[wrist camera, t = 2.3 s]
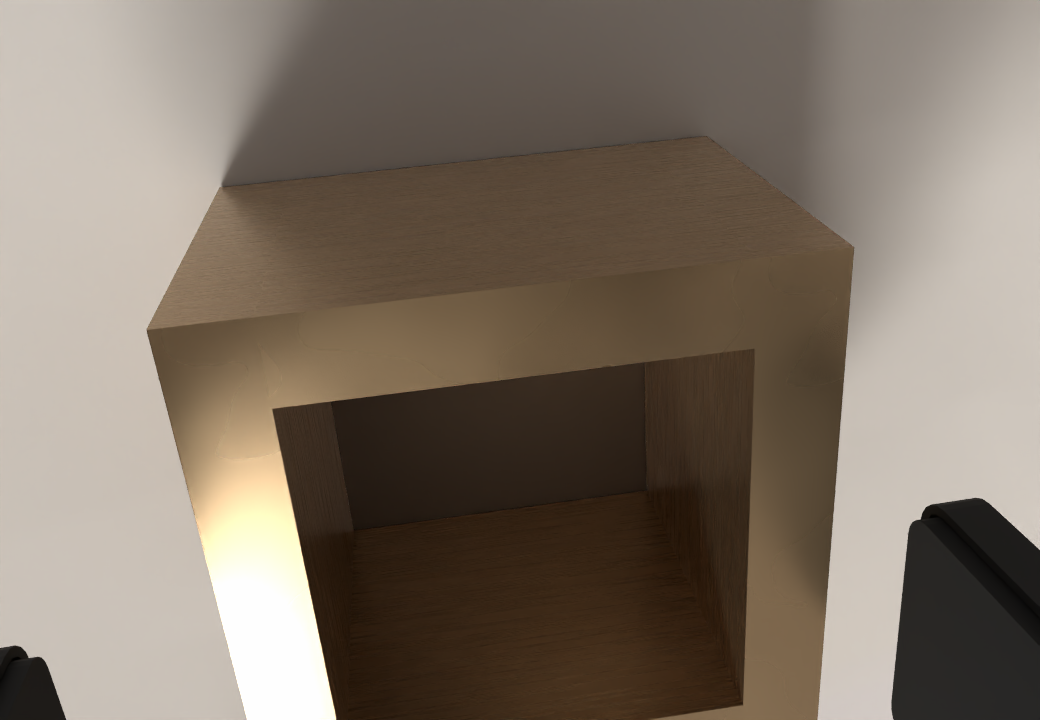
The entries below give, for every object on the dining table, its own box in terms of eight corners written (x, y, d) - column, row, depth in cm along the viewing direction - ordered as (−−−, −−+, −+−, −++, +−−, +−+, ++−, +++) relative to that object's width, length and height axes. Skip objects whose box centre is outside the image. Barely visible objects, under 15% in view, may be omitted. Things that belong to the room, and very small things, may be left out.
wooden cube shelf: (706, 135, 15) (853, 247, 10) (702, 530, 18) (814, 749, 13) (219, 187, 14) (147, 329, 9) (303, 586, 17) (278, 836, 13)
